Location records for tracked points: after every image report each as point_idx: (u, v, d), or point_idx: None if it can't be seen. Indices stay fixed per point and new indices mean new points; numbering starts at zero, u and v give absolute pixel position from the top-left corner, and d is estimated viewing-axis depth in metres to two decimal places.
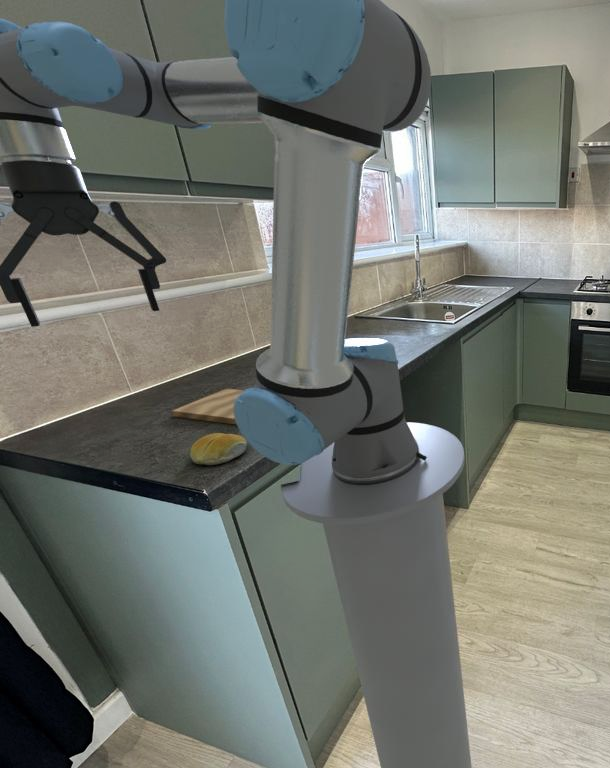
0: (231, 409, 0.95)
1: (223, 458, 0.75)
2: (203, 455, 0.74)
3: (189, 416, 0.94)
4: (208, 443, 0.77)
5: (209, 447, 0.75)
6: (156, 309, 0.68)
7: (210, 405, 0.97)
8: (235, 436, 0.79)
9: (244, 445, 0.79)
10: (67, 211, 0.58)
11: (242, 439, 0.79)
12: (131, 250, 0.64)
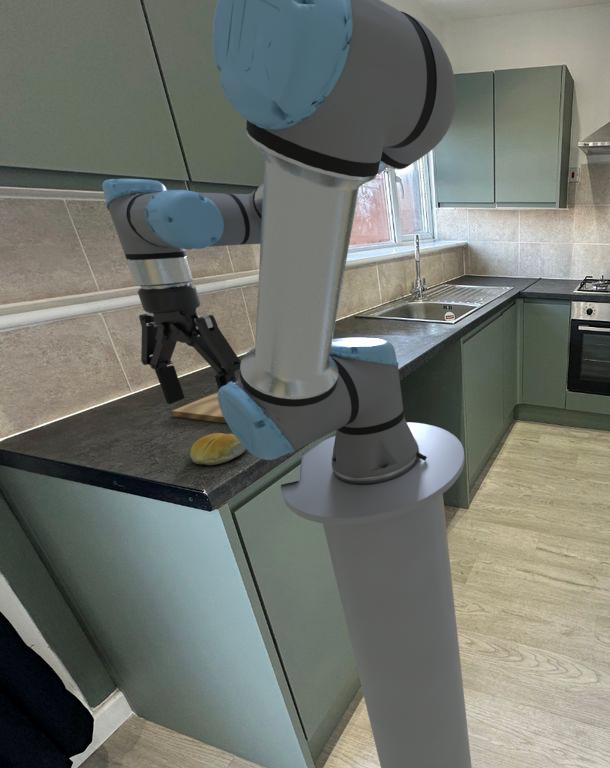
0: None
1: (223, 458, 0.75)
2: (203, 455, 0.74)
3: (189, 416, 0.94)
4: (208, 443, 0.77)
5: (209, 447, 0.75)
6: None
7: (210, 405, 0.97)
8: (235, 436, 0.79)
9: None
10: (170, 325, 0.68)
11: None
12: (209, 359, 0.69)
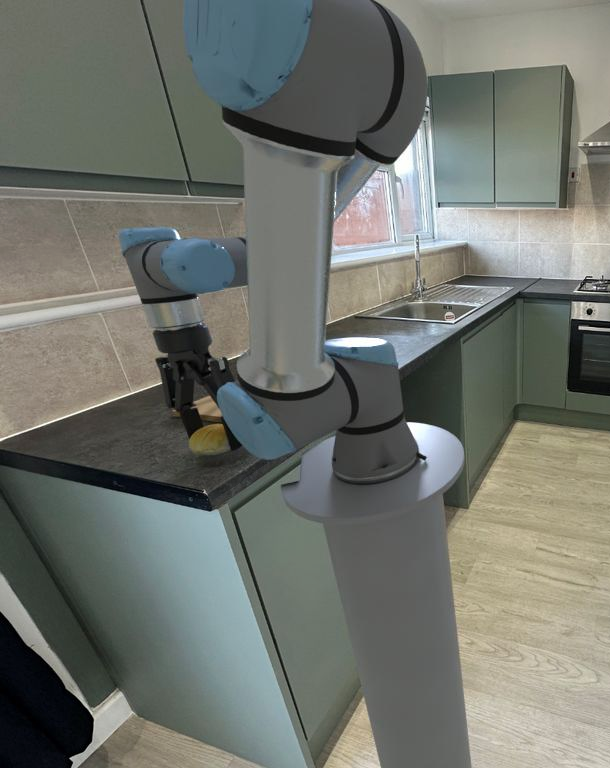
0: None
1: (222, 448, 0.74)
2: (202, 445, 0.73)
3: None
4: (207, 433, 0.75)
5: (208, 437, 0.74)
6: (232, 449, 0.75)
7: (210, 405, 0.97)
8: None
9: None
10: (184, 364, 0.70)
11: None
12: None
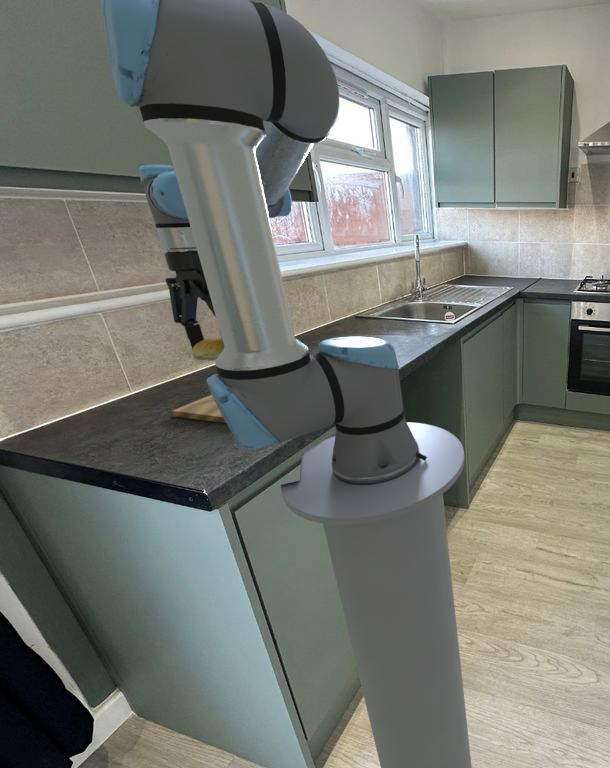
0: None
1: (219, 354, 0.90)
2: (203, 351, 0.89)
3: (189, 416, 0.94)
4: (207, 343, 0.91)
5: (208, 345, 0.90)
6: None
7: (210, 405, 0.97)
8: None
9: None
10: (189, 281, 0.86)
11: None
12: None
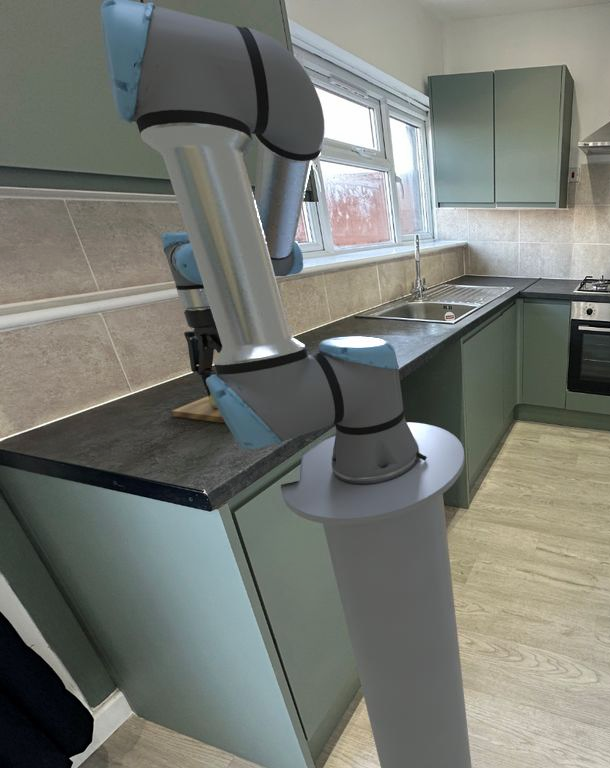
0: None
1: None
2: None
3: (189, 416, 0.94)
4: None
5: None
6: None
7: (210, 405, 0.97)
8: None
9: None
10: (207, 336, 0.91)
11: None
12: None
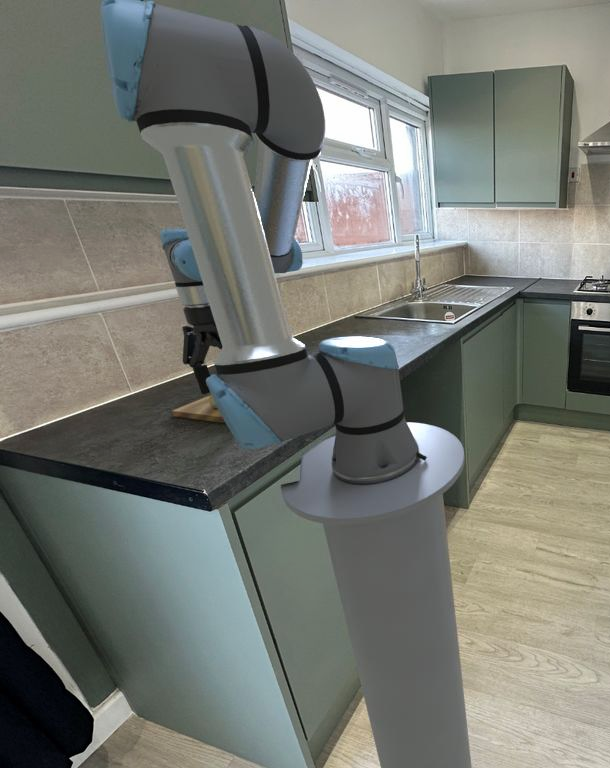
0: None
1: None
2: None
3: (189, 416, 0.94)
4: None
5: None
6: None
7: (210, 405, 0.97)
8: None
9: None
10: (206, 334, 0.91)
11: None
12: None
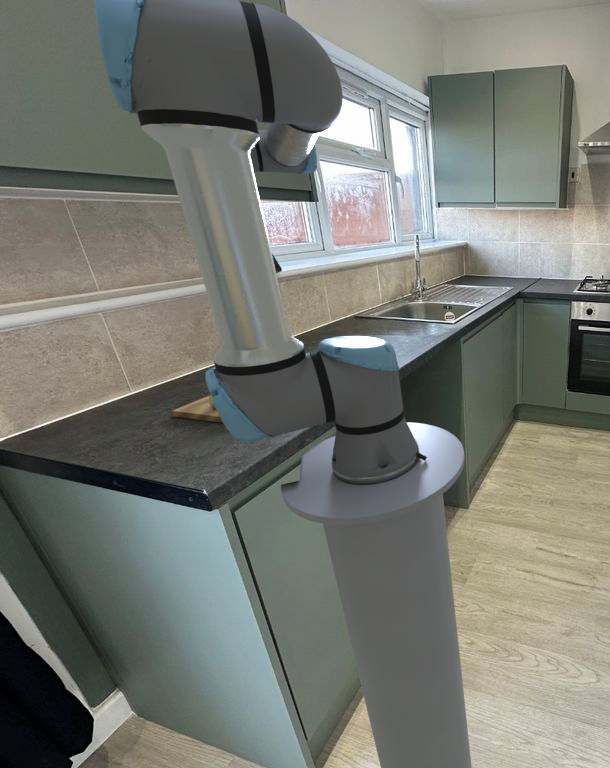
0: None
1: None
2: None
3: (189, 416, 0.94)
4: None
5: None
6: None
7: (210, 405, 0.97)
8: None
9: None
10: None
11: None
12: None
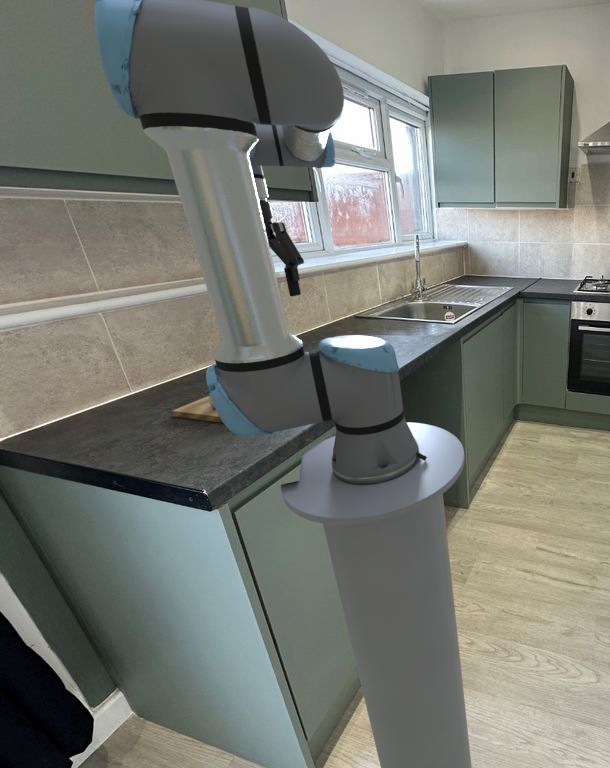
0: None
1: None
2: None
3: (189, 416, 0.94)
4: None
5: None
6: (291, 295, 0.98)
7: (210, 405, 0.97)
8: None
9: None
10: None
11: None
12: (280, 254, 0.95)
